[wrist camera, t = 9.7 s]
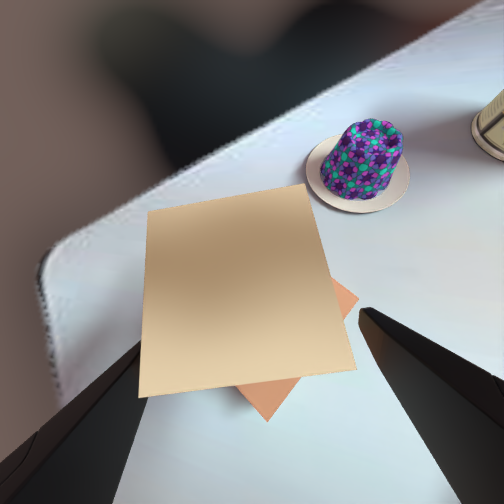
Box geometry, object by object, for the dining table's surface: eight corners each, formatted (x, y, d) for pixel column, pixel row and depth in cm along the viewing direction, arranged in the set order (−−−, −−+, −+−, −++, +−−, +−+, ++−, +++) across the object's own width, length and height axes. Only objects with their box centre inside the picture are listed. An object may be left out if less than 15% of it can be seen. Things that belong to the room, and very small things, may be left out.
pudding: (425, 167, 23) (466, 127, 18) (368, 235, 21) (397, 211, 16) (341, 124, 27) (357, 81, 22) (285, 180, 25) (289, 145, 20)
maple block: (294, 330, 16) (357, 369, 4) (235, 338, 16) (138, 397, 4) (282, 272, 18) (304, 183, 6) (230, 280, 18) (147, 211, 6)
